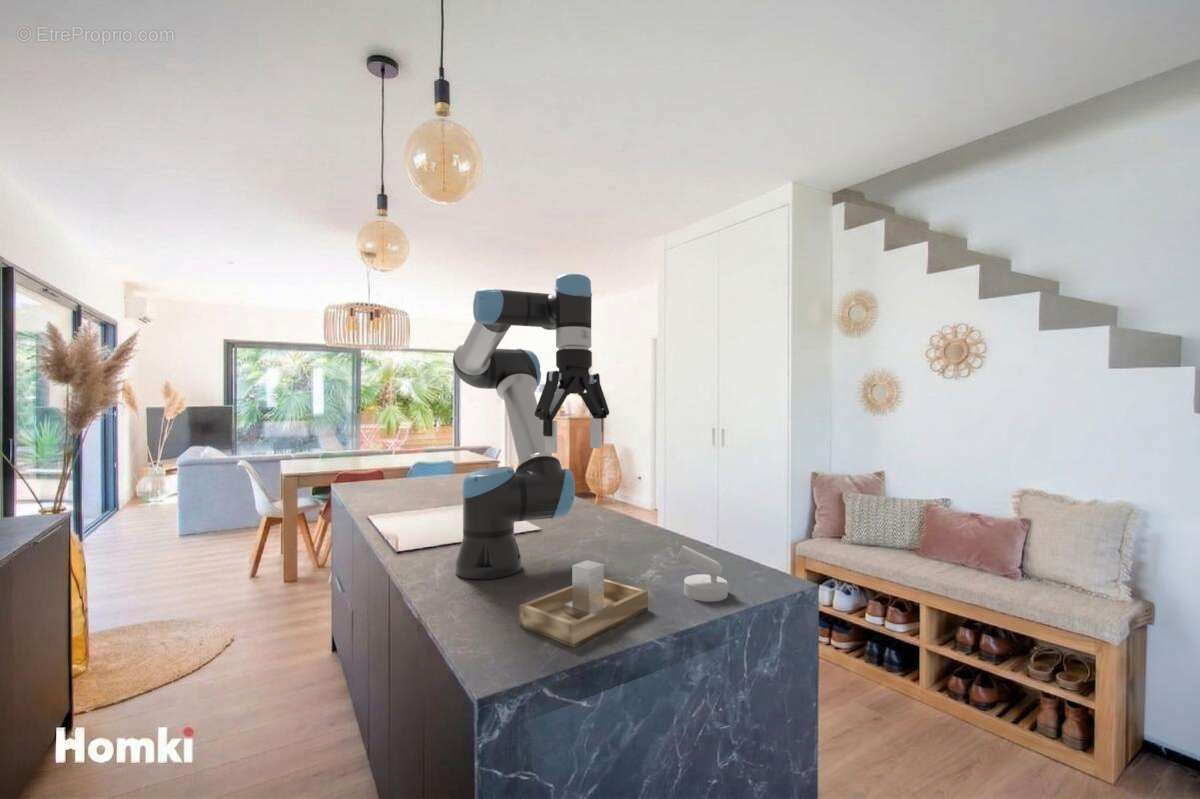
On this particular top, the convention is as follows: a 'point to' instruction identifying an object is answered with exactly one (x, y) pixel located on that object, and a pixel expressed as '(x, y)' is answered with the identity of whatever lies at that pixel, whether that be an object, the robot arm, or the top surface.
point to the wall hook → (703, 577)
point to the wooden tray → (573, 631)
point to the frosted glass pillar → (586, 589)
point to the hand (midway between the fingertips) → (574, 450)
